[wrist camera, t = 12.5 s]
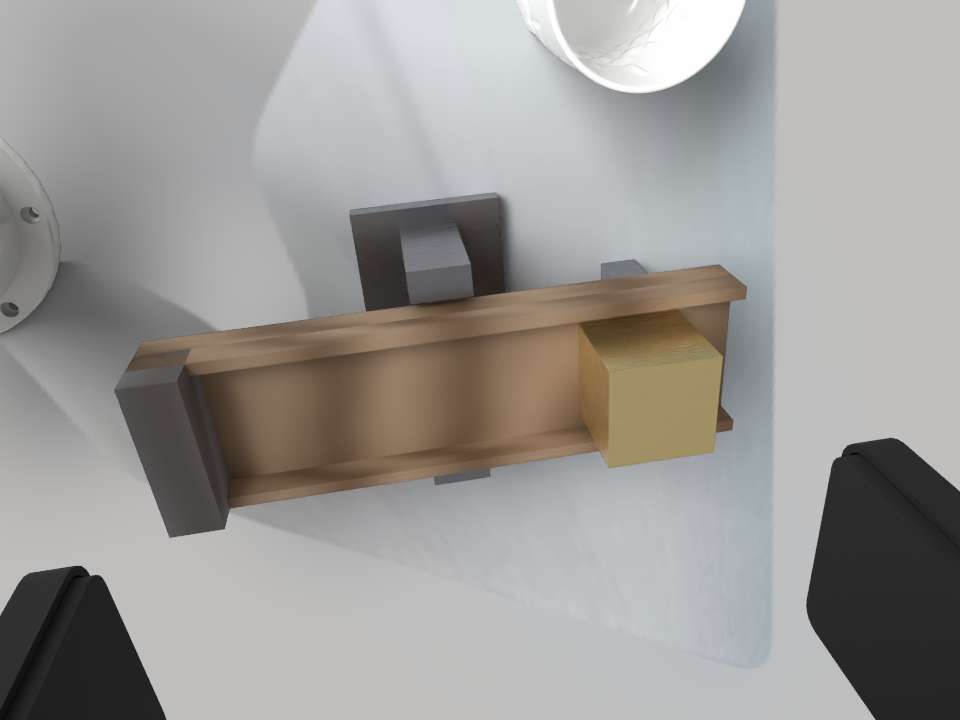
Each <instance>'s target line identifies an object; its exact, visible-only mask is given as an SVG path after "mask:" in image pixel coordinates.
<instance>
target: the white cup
mask: <svg viewBox="0 0 960 720" xmlns="http://www.w3.org/2000/svg"><path fill="white" fill-rule="evenodd" d="M516 2H517V4H518V7H519V9H520V11H521V14H522V16H523V19H524V21H525V23H526V26H527V28H528V29H529V30H530V31H531V32H532V33H533V34H534V35H535V36H536V37H538V38H539V39H540V41H541V42H542V43H543V44H544V45H545V46H546V47H547V48H548V49H549V50H550V51H551V52H553V53H554V54H555V55H556V56H558V57H559V58H560V59H561V60H563V61H564V62H565V63H567V64H568V65H570V66H572V67H573V68H575V69H576V70H578V71H579V72H581V73H583V74H584V75H585V76H587V77H588V78H590V79H591V80H593V81H595V82H596V83H598V84H600V85H602V86H604V87H607V88H609V89H612V90H616V91H620V92H625V93H650V92H656V91H660V90H664V89H667V88H670V87H673V86H675V85H677V84H679V83H681V82H683V81H685V80H687V79H688V78H690V77H692V76H693V75H695V74H696V73H697V72H699V71H700V70H701V69H702V68H704V67H705V66H706V65H707V64H708V63H709V62H710V61H711V60H712V59H713V58H714V57H715V56H716V55H717V54H718V53H719V51H720V50H721V49H722V48H723V46H724V45H725V43H726V42H727V41H728V39H729V37H730V36H731V34H732V33H733V31H734V29H735V27H736V25H737V23H738V21H739V19H740V16H741V14H742V12H743V9H744V6H745V3H746V0H516Z"/></svg>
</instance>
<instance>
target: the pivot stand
mask: <svg viewBox="0 0 960 720" xmlns="http://www.w3.org/2000/svg"><path fill="white" fill-rule="evenodd" d="M350 220H351V226H352V232H353V238H354V243H355V249H356V255H357V261H358V267H359V273H360V278H361V284H362V290H363V296H364V302H365V307H366V312H368V311H376V310H383V309H390V308H398V307H405V306H413V305H420V304H427V303H428V302H433V301H441V300H448V299H454V300H458V299H465V298H472V297H480V296H487V295H495V294H502V293H505V286H504V272H503V258H502V244H501V230H500V216H499V201H498V196H497V195H496V193H487V194H479V195H471V196H462V197H454V198H446V199H437V200H429V201H421V202H413V203H404V204H396V205H388V206H379V207H371V208H363V209H354V210H350ZM485 477H490V468H486V469H479V470H473V471H466V472H460V473H453V474H447V475H441V476H434V480H435V485H440V484H446V483H453V482H459V481H466V480H472V479H479V478H485Z"/></svg>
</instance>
